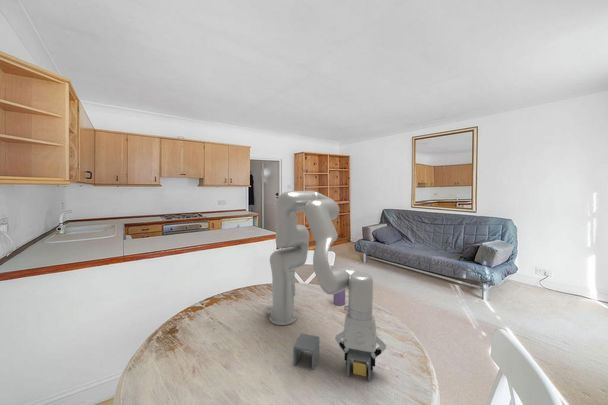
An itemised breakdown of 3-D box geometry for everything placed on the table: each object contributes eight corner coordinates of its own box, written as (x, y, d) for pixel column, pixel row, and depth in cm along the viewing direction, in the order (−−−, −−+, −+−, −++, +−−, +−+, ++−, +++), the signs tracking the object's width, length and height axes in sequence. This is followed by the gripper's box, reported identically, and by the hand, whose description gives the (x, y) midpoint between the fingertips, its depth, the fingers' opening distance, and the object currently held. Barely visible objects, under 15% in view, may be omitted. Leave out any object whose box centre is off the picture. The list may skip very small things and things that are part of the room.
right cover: (347, 376, 78) (347, 356, 77) (350, 359, 85) (350, 341, 85) (370, 381, 76) (370, 361, 75) (371, 363, 83) (371, 345, 83)
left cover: (293, 365, 83) (293, 346, 83) (300, 350, 91) (300, 333, 90) (313, 369, 81) (313, 350, 81) (319, 354, 89) (319, 336, 88)
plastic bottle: (283, 292, 141) (283, 257, 139) (295, 292, 141) (295, 257, 140) (283, 297, 134) (283, 261, 133) (296, 297, 135) (295, 260, 133)
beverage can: (344, 306, 124) (345, 276, 123) (332, 305, 125) (332, 276, 124) (345, 300, 130) (345, 272, 129) (333, 299, 131) (333, 272, 130)
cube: (353, 374, 79) (353, 362, 79) (354, 365, 83) (354, 353, 83) (366, 376, 78) (366, 364, 78) (366, 367, 82) (366, 356, 81)
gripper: (331, 313, 78) (331, 367, 79) (389, 322, 73) (388, 379, 74) (335, 302, 85) (335, 352, 87) (388, 310, 80) (387, 362, 81)
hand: (359, 364), depth 80 cm, fingers closed on right cover, 7 cm apart
